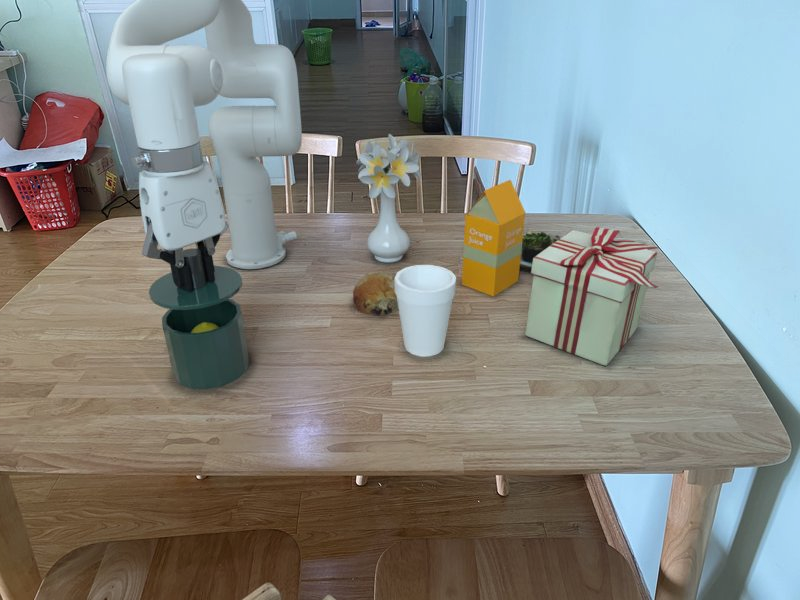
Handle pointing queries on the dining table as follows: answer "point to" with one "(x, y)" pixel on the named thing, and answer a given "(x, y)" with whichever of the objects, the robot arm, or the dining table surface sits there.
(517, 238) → the orange juice
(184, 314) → the pot
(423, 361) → the dining table surface
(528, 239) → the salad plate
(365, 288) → the bread roll
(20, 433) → the dining table surface
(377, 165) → the flower vase
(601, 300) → the gift box
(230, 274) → the lid
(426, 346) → the foam cup
